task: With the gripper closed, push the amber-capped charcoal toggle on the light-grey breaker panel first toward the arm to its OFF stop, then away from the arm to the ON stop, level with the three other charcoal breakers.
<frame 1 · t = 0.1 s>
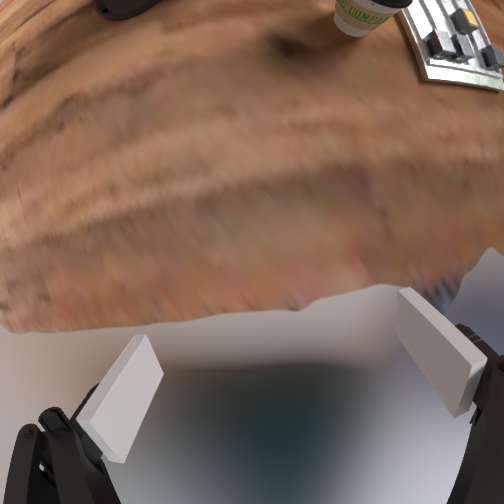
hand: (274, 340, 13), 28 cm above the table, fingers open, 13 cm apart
coffee cup: (351, 22, 31), on the table
tripped toggle: (464, 20, 24), point 4 cm above the table, slide at 0.0 cm
panel: (444, 26, 28), on the table
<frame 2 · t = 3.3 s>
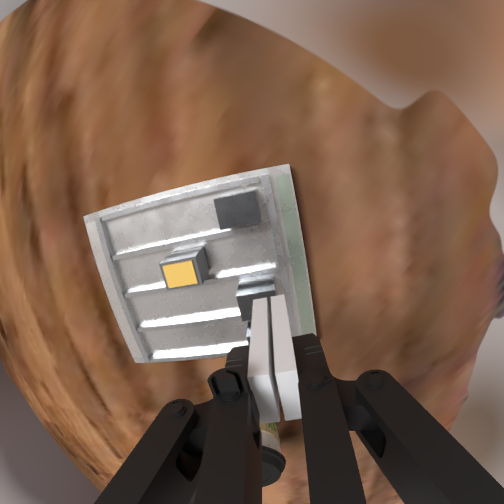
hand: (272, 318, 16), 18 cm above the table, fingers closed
coffee cup: (249, 395, 40), on the table
tripped toggle: (185, 268, 30), point 4 cm above the table, slide at 0.0 cm
panel: (199, 275, 35), on the table
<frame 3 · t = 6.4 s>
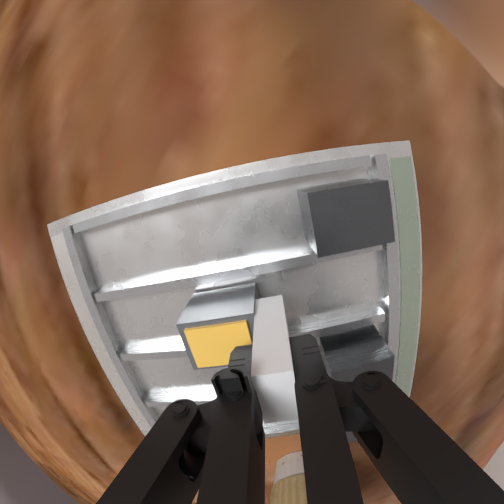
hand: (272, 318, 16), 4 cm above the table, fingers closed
coffee cup: (302, 461, 26), on the table
tripped toggle: (225, 326, 16), point 4 cm above the table, slide at -0.5 cm, touching gripper
panel: (246, 324, 21), on the table
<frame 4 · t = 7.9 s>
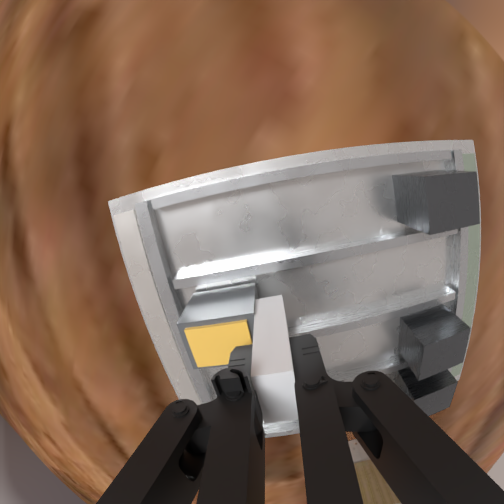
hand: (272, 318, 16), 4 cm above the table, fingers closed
coffee cup: (352, 451, 25), on the table
tripped toggle: (225, 325, 16), point 4 cm above the table, slide at -6.6 cm, touching gripper
panel: (328, 308, 20), on the table
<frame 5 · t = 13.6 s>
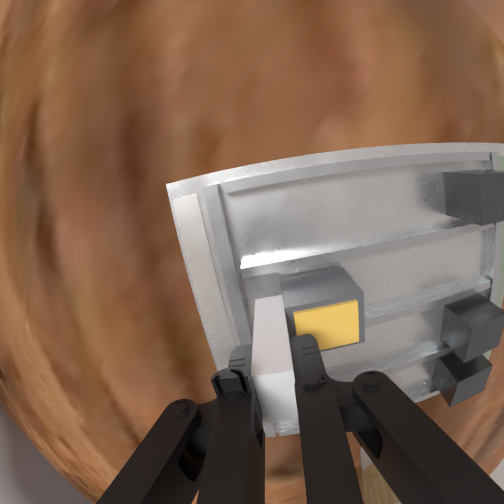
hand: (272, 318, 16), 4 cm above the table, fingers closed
coffee cup: (383, 443, 25), on the table
tripped toggle: (320, 310, 15), point 4 cm above the table, slide at -5.4 cm, touching gripper
panel: (380, 298, 20), on the table
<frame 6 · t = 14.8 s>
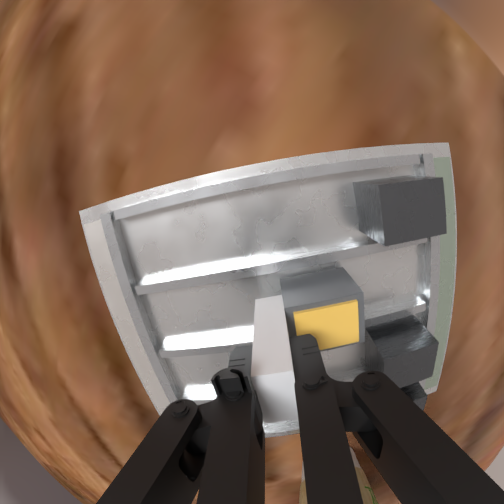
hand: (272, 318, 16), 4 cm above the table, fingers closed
coffee cup: (328, 457, 26), on the table
tripped toggle: (320, 310, 15), point 4 cm above the table, slide at 1.6 cm, touching gripper
panel: (291, 316, 20), on the table
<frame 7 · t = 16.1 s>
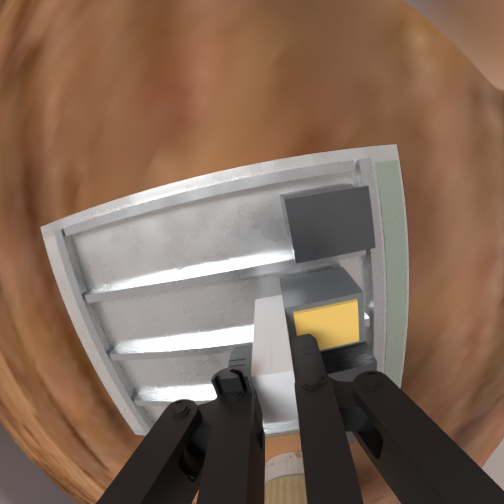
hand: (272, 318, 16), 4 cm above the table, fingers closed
coffee cup: (291, 463, 26), on the table
tripped toggle: (320, 309, 15), point 4 cm above the table, slide at 6.1 cm, touching gripper
panel: (232, 326, 21), on the table
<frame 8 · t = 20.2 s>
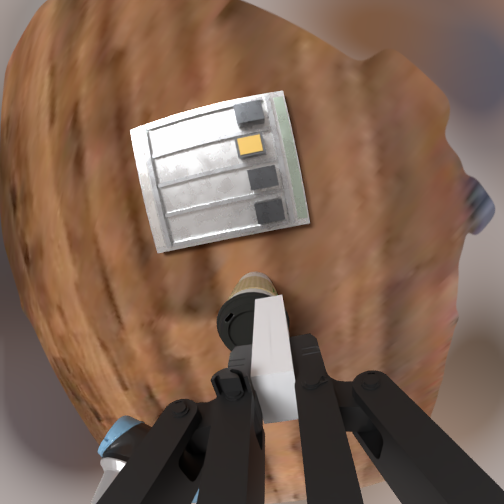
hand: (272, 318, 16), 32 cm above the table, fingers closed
coffee cup: (255, 287, 50), on the table
tripped toggle: (250, 146, 39), point 4 cm above the table, slide at 6.2 cm
panel: (217, 171, 45), on the table
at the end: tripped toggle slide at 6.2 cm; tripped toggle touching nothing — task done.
